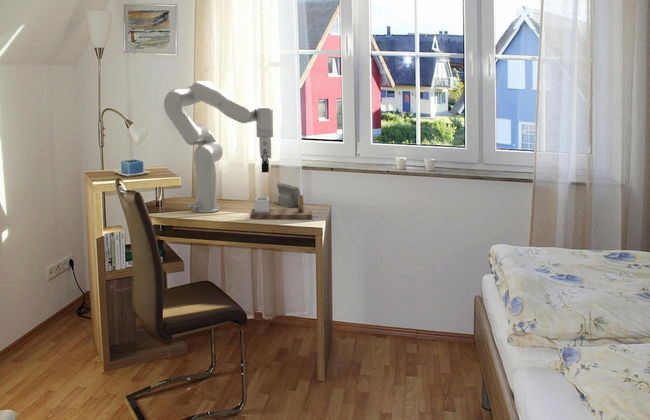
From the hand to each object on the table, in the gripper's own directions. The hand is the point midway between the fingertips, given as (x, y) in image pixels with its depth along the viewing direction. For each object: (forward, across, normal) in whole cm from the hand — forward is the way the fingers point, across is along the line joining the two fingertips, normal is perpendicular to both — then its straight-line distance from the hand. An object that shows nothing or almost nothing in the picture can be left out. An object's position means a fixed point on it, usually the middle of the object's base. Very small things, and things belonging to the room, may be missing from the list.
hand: (265, 170), depth 346 cm
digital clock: (+21, +23, -12) cm, 34 cm away
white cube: (+19, -2, +2) cm, 19 cm away
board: (+21, -2, -7) cm, 22 cm away
